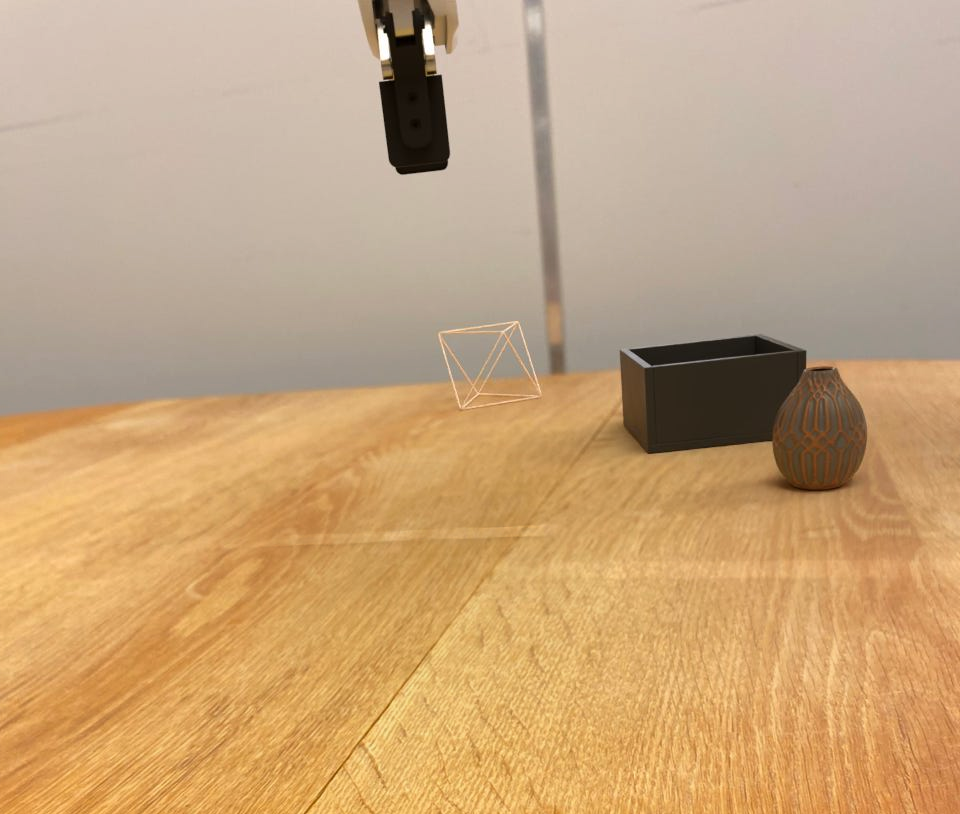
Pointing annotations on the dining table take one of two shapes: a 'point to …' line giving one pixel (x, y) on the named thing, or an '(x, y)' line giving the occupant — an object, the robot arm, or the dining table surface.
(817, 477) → the vase
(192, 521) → the dining table surface
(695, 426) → the bin
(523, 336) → the geometric polyhedron
